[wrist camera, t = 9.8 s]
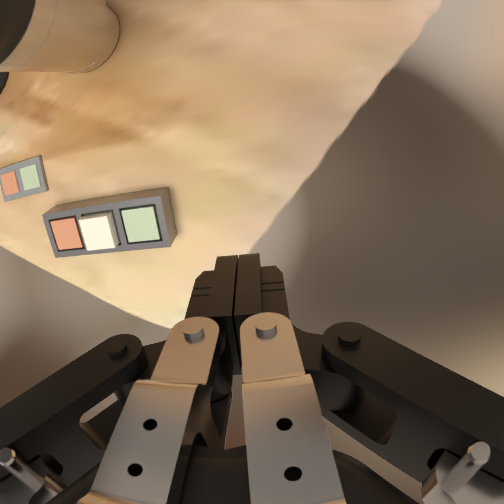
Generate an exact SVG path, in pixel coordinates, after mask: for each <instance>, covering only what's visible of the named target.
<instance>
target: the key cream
mask: <svg viewBox="0 0 504 504" xmlns="http://www.w3.org/2000/svg"><path fill="white" fill-rule="evenodd" d="M79 224H80V227H81V231H82V235H83V238H84V241H85V245H86V248H87V251H89V250H99V249H109V248H115V247H116V246H117V245H118V244H119V242H120V237H119V233H118V229H117V225H116V221H115V217H114V213H113V209H112V210H105V211H99V212H92V213H87V214H86V215H84V216H83V217H82V218H81V219H79Z"/></svg>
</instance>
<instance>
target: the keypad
mask: <svg viewBox="0 0 504 504" xmlns="http://www.w3.org/2000/svg"><path fill="white" fill-rule="evenodd" d="M148 204H155V206H156V211H157V216H158V221H159V225H160V230H161V235H162V236H161V238H160V239H158V240H148V241H138V242H129V241H128V237H127V233H126V229H125V225H124V221H123V216H122V212H121V211H122V210H123V209H124V208H126V207H133V206H141V205H148ZM112 209H113V213H114V217H115V221H116V225H117V229H118V233H119V237H120V242H119V244H118V245H117V246H116V247H115V248H109V249H99V250H89V251H87V248H86V245H85V241H84V238H83V235H82V231H81V227H80V224H79V219H81V218H82V217H83V216H84V215H86V214H87V213H92V212H99V211H105V210H112ZM74 215H76V219H77V222H78V226H79V230H80V233H81V236H82V240H83V243H84V246H83V247H81V248H72V249H63V250H59V249H58V246H57V243H56V239H55V236H54V233H53V230H52V226H51V223H50V222H51V221H52V220H53V219H56V218H62V217H68V216H74ZM42 216H43V219H44V223H45V226H46V230H47V233H48V236H49V239H50V242H51V245H52V249H53V252H54V255H55V257H56V258H58V257H68V256H78V255H88V254H99V253H109V252H120V251H130V250H141V249H152V248H163V247H171V245H172V243H173V241H174V239H175V237H176V235H177V233H176V228H175V223H174V217H173V212H172V206H171V201H170V195H169V190H168V188H161V189H153V190H146V191H139V192H133V193H126V194H120V195H113V196H107V197H101V198H95V199H90V200H84V201H78V202H73V203H68V204H62V205H57V206H54V207H53V208H52V209H50V210H49V211H47V212H46V213H44V214H43V215H42Z"/></svg>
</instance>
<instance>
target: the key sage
mask: <svg viewBox="0 0 504 504" xmlns="http://www.w3.org/2000/svg"><path fill="white" fill-rule="evenodd" d="M121 212H122V216H123V221H124V225H125V229H126V233H127V237H128V241H129V242H138V241H148V240H158V239H160V238H161V236H162V235H161V230H160V225H159V221H158V216H157V211H156V206H155V204H148V205H141V206H133V207H126V208H124V209H123V210H122V211H121Z"/></svg>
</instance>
